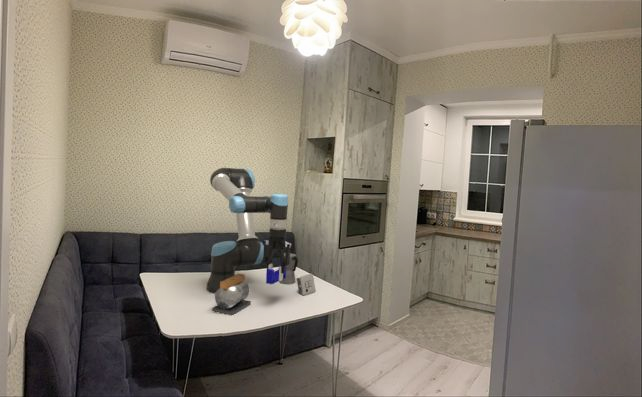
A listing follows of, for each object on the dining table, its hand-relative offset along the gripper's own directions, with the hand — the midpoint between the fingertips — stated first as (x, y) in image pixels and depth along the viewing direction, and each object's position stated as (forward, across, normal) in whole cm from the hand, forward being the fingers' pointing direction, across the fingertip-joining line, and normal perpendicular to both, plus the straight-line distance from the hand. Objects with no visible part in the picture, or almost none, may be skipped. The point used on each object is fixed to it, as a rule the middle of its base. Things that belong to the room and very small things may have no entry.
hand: (275, 279), depth 152 cm
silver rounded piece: (+11, -13, -13) cm, 22 cm away
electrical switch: (+11, +8, +20) cm, 24 cm away
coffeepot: (+12, -7, +32) cm, 35 cm away
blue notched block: (+1, 0, 0) cm, 1 cm away
